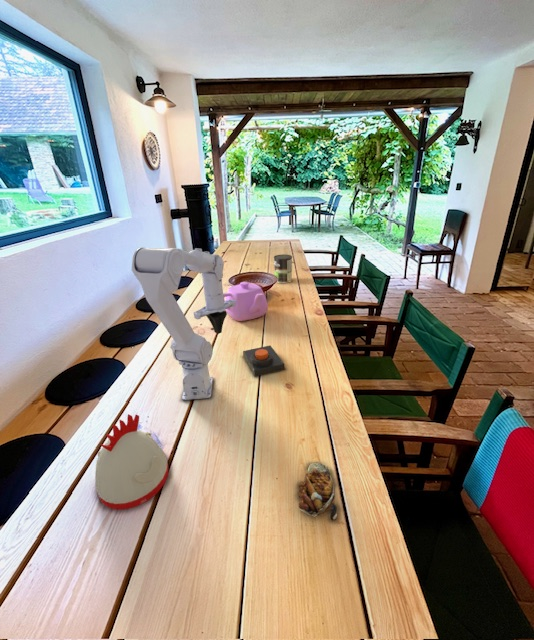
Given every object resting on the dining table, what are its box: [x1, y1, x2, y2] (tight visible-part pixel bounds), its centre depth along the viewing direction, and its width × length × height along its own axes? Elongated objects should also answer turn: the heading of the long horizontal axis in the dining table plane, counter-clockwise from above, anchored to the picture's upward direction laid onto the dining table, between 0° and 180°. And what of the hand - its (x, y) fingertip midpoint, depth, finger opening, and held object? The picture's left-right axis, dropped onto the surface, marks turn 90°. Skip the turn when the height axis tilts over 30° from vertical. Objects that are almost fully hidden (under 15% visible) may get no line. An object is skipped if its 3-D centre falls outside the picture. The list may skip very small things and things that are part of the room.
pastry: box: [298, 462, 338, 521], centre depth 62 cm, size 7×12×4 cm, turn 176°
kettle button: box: [255, 349, 268, 360], centre depth 102 cm, size 4×4×2 cm
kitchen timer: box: [94, 414, 170, 511], centre depth 64 cm, size 14×14×15 cm
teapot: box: [223, 281, 269, 322], centre depth 136 cm, size 23×21×15 cm
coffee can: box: [273, 254, 293, 284], centre depth 183 cm, size 10×10×14 cm
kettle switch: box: [242, 345, 286, 377], centre depth 105 cm, size 13×10×4 cm
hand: (218, 332), depth 105 cm, fingers closed
